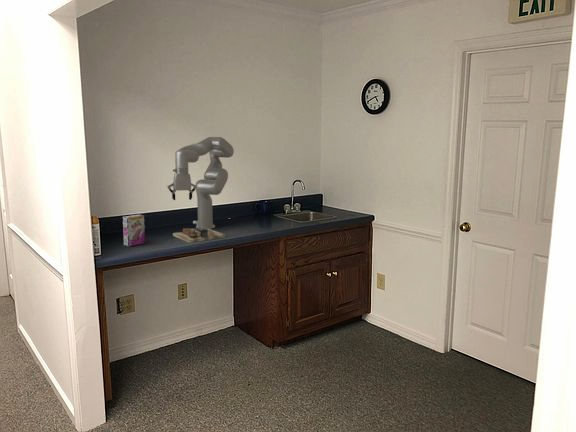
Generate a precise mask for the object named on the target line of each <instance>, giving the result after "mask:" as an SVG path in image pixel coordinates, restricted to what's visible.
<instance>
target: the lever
mask: <svg viewBox="0 0 576 432" xmlns="http://www.w3.org/2000/svg"><path fill="white" fill-rule="evenodd" d="M195 230H196V227H195V228H190V227H187V228H182V232H183V233H185V234H186V235H188V236H190V238H195V237H197V233H196V232H195Z"/></svg>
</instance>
